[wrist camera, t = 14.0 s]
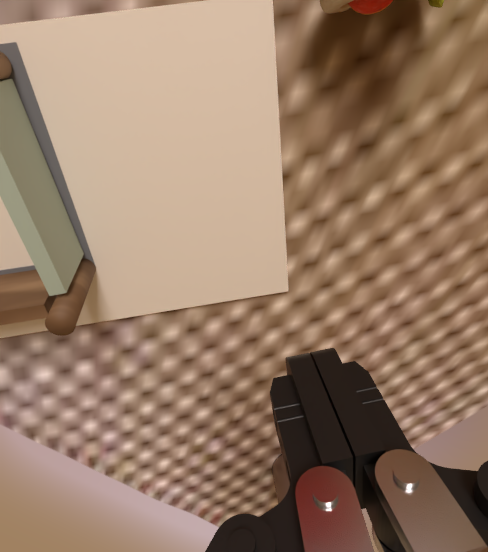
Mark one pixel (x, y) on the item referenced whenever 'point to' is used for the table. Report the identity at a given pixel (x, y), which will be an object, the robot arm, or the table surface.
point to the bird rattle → (363, 5)
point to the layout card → (157, 152)
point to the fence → (44, 299)
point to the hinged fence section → (33, 193)
